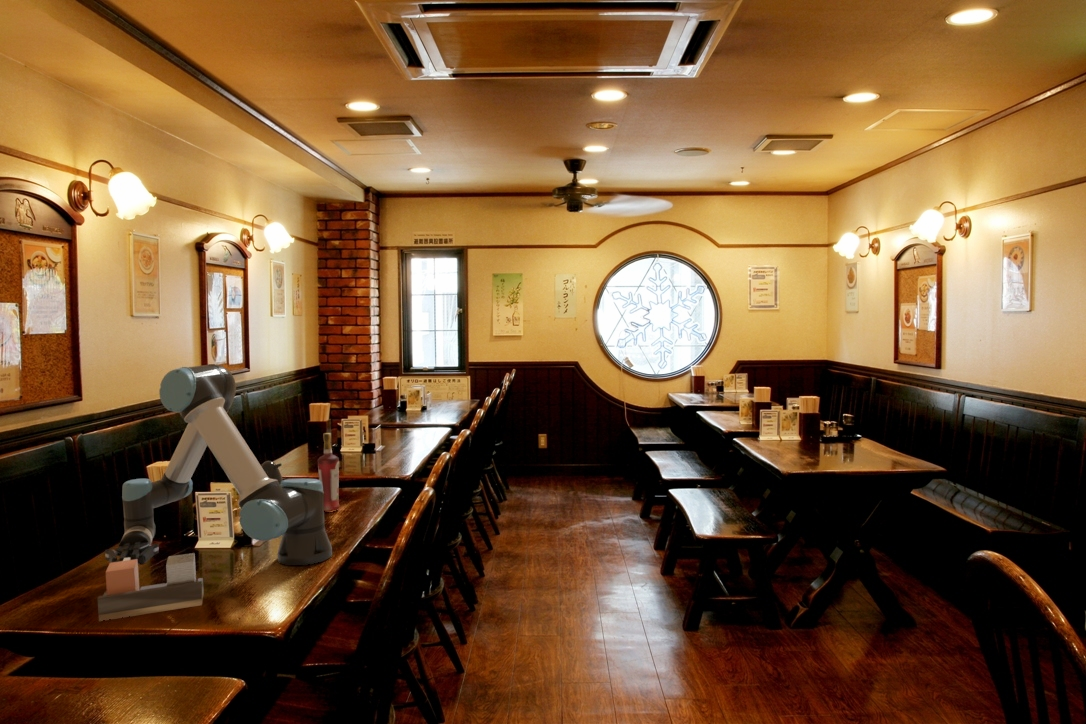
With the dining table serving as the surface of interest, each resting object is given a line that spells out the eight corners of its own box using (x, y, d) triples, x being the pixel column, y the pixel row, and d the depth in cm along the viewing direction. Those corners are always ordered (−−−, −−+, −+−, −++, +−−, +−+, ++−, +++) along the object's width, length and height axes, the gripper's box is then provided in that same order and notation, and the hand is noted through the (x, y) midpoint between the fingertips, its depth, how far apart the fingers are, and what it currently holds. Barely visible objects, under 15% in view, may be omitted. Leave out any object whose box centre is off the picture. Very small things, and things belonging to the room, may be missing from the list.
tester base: (105, 605, 182) (104, 584, 182) (203, 590, 191) (202, 570, 190) (99, 621, 173) (97, 598, 173) (202, 604, 182) (200, 583, 181)
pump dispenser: (275, 504, 275) (273, 464, 274) (250, 503, 277) (248, 463, 276) (290, 497, 285) (288, 458, 284) (265, 496, 287) (263, 457, 286)
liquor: (323, 508, 268) (320, 431, 266) (343, 507, 268) (340, 431, 266) (316, 513, 261) (313, 435, 259) (337, 513, 261) (334, 435, 259)
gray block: (170, 591, 187) (168, 556, 186) (196, 587, 189) (194, 552, 189) (168, 601, 180) (166, 565, 180) (195, 596, 183) (193, 561, 182)
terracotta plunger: (112, 598, 183) (110, 562, 182) (139, 594, 185) (137, 559, 185) (108, 608, 177) (105, 571, 176) (136, 604, 179) (134, 568, 178)
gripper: (162, 553, 208) (154, 581, 187) (109, 560, 203) (95, 589, 182) (161, 527, 208) (152, 552, 186) (107, 533, 203) (93, 560, 181)
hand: (124, 570), depth 184 cm, fingers closed
